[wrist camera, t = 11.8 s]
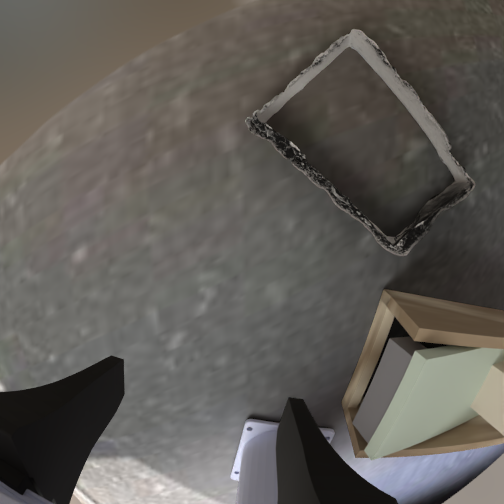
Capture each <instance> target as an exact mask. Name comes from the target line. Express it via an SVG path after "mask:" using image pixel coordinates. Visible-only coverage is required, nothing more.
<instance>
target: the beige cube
mask: <svg viewBox="0 0 504 504" xmlns="http://www.w3.org/2000/svg"><path fill="white" fill-rule="evenodd" d="M470 407H471V408H472V409H473V410H474V411H476V412H477V413H478V414H479V415H480V416H481V417H483V418H484V419H485V420H486V421H487V422H488V423H490V424H491V425H492V426H493V427H494V428H495V429H497V430H498V431H499V432H500V433H501V434H502V435H503V436H504V361H502V362H500V363H497V364H494V365H492V367H491V369H490V371H489V373H488V375H487V377H486V379H485V381H484V383H483V385H482V386H481V388H480V390H479V392H478V394H477V395H476V397H475V399H474V401H473V402H472V404H471V406H470Z"/></svg>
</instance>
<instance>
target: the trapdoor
mask: <svg viewBox="0 0 504 504" xmlns="http://www.w3.org/2000/svg"><path fill="white" fill-rule="evenodd" d="M502 361H504V349H495V348H481V347H469V346H458V345H449V346H443V347H437V348H430V349H427V348H426V347H425V346H423V345H422V344H421V343H419V342H418V341H414V340H413V339H412V337H411V336H410V337H398V338H389V341H388V344H387V346H386V349H385V351H384V354H383V356H382V359H381V361H380V364H379V366H378V368H377V371H376V373H375V375H374V378H373V380H372V382H371V384H370V387H369V389H368V391H367V393H366V395H365V398H364V400H363V402H362V404H361V406H360V408H359V410H358V412H357V414H356V416H355V418H354V420H353V422H352V423H353V425H354V426H355V427H356V429H357V430H358V431H359V433H360V434H361V435H362V436H363V438H364V439H365V440H366V442H367V443H368V445H367V446H366V448H365V450H364V451H365V453H366V454H367V455H368V457H369V458H370V459H371V460H374V459H377V458H380V457H383V456H386V455H389V454H392V453H395V452H397V451H400V450H403V449H405V448H408V447H411V446H413V445H416V444H418V443H421V442H423V441H425V440H428V439H430V438H432V437H435V436H437V435H439V434H441V433H444V432H446V431H448V430H450V429H452V428H454V427H456V426H458V425H460V424H462V423H464V422H466V421H468V420H470V419H472V418H474V417H476V416H478V415H479V414H478V413H477V412H476V411H474V410H473V409H472V408H471V407H470V406H471V404H472V402H473V401H474V399H475V397H476V395H477V394H478V392H479V390H480V388H481V386H482V385H483V383H484V381H485V379H486V377H487V375H488V373H489V371H490V369H491V367H492V365H494V364H497V363H500V362H502Z"/></svg>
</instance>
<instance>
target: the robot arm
mask: <svg viewBox="0 0 504 504" xmlns="http://www.w3.org/2000/svg"><path fill="white" fill-rule="evenodd" d="M124 394H125V393H124V359H121V358H117V357H114V356H110V357H107V358H105V359H104V360H102V361H100V362H98V363H96V364H94V365H92V366H90V367H88V368H86V369H84V370H82V371H80V372H78V373H76V374H73V375H71V376H69V377H66V378H64V379H62V380H59V381H56V382H54V383H51V384H47V385H44V386H40V387H36V388H31V389H26V390H20V391H11V392H0V504H69V503H70V500H71V497H72V494H73V491H74V489H75V486H76V483H77V481H78V478H79V476H80V474H81V471H82V469H83V467H84V464H85V462H86V460H87V458H88V456H89V454H90V452H91V450H92V448H93V447H94V445H95V443H96V442H97V440H98V439H99V437H100V436H101V434H102V433H103V431H104V430H105V428H106V427H107V425H108V424H109V422H110V421H111V419H112V418H113V416H114V414H115V413H116V411H117V409H118V407H119V405H120V403H121V401H122V399H123V396H124ZM248 427H251V428H248ZM334 434H335V433H334V430H333V429H330V428H319V427H318V426H317V424H316V422H315V420H314V419H313V417H312V415H311V413H310V411H309V410H308V408H307V406H306V404H305V402H304V400H303V399H297V398H290V397H289V398H288V401H287V404H286V406H285V409H284V412H283V415H282V418H281V421H280V423H275V422H269V421H262V420H256V419H247V420H246V421H245V425H244V428H243V432H242V436H241V440H240V443H239V447H238V451H237V454H236V458H235V461H234V465H233V468H232V472H231V476H230V477H231V479H233V480H238V481H239V482H238V489H237V497H236V504H398V503H397V500H396V499H395V498H393V497H392V496H390V495H388V494H386V493H384V492H383V491H381V490H379V489H378V488H376V487H375V486H373V485H372V484H370V483H369V482H367V481H366V480H365V479H364V478H362V477H361V476H360V475H359V474H357V473H356V472H355V471H354V470H353V469H352V468H351V467H350V466H349V465H348V464H347V463H346V462H345V461H344V460H343V459H342V458H341V457H340V456H339V455H338V454H337V453H336V451H335V450H334V449H333V448H332V446H331V445H330V442H331V440H332V439H333V437H334Z"/></svg>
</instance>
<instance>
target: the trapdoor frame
mask: <svg viewBox="0 0 504 504" xmlns="http://www.w3.org/2000/svg"><path fill="white" fill-rule="evenodd" d="M394 317H396V319H397V320H398V321H399V322H400V324H401V325H402V326H403V327H404V329H405V330H406V331H407V332H408V334H409V335H410V336H411V337H412V339H413V340H414V341H419V342H428V343H437V344H447V345H458V346H469V347H481V348H495V349H504V311H503V310H498V309H492V308H486V307H481V306H475V305H470V304H464V303H458V302H453V301H447V300H442V299H437V298H431V297H426V296H420V295H415V294H409V293H404V292H399V291H393V290H388V289H383V292H382V295H381V298H380V302H379V305H378V308H377V311H376V314H375V317H374V320H373V323H372V325H371V328H370V331H369V334H368V337H367V340H366V342H365V345H364V348H363V350H362V353H361V356H360V358H359V361H358V363H357V366H356V368H355V371H354V373H353V376H352V378H351V381H350V383H349V386H348V388H347V390H346V393H345V395H344V397H343V400H342V402H341V403H342V407H343V411H344V415H345V418H346V422H347V426H348V430H349V434H350V438H351V442H352V446H353V450H354V454H355V458H369V457H368V455H367V454H366V453H365V451H364V450H365V448H366V446H367V445H368V443H367V442H366V440H365V439H364V438H363V436H362V435H361V434H360V433H359V431H358V430H357V429H356V427H355V426H354V425H353V423H352V422H353V420H354V418H355V416H356V414H357V412H358V410H359V408H360V406H361V404H362V402H363V400H364V398H365V397H362V396H363V394H364V392H365V389H366V387H367V385H368V383H369V380H370V378H371V376H372V373H373V371H374V369H375V366H376V364H377V362H378V359H379V357H380V354H381V352H382V349H383V347H384V344H385V341H386V339H387V336H388V333H389V331H390V328H391V325H392V322H393V320H394ZM502 443H504V436H503V435H502V434H501V433H500V432H499V431H498V430H497V429H495V428H494V427H493V426H492V425H491V424H490V423H488V422H487V421H486V420H485V419H484V418H483V417H481V416H480V415H478V416H476V417H474V418H472V419H470V420H468V421H466V422H464V423H462V424H460V425H458V426H456V427H454V428H452V429H450V430H448V431H446V432H444V433H441V434H439V435H437V436H435V437H432V438H430V439H428V440H425V441H423V442H421V443H418V444H416V445H413V446H411V447H408V448H405V449H403V450H400V451H397V452H395V453H392V454H389V455H386V456H383V457H407V456H421V455H432V454H441V453H449V452H457V451H464V450H470V449H476V448H482V447H487V446H492V445H497V444H502ZM380 458H382V457H380Z"/></svg>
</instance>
